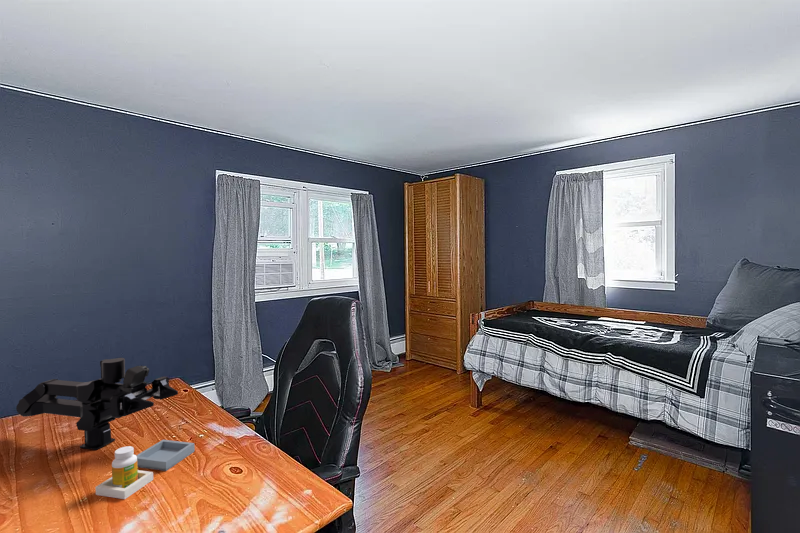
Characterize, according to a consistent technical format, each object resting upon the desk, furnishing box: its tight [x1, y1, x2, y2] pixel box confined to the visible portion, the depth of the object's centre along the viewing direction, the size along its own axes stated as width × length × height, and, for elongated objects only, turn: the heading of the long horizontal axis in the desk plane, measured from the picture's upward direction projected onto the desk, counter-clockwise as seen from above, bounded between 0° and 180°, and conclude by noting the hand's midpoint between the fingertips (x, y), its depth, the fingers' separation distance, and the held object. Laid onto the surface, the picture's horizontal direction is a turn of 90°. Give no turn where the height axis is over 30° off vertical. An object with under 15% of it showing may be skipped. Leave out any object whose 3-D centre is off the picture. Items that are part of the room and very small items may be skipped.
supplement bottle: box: [111, 445, 139, 488], centre depth 103 cm, size 5×5×10 cm
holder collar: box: [95, 469, 154, 500], centre depth 104 cm, size 9×9×2 cm
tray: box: [135, 439, 196, 472], centre depth 117 cm, size 11×11×2 cm
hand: (165, 398), depth 120 cm, fingers open, 9 cm apart
